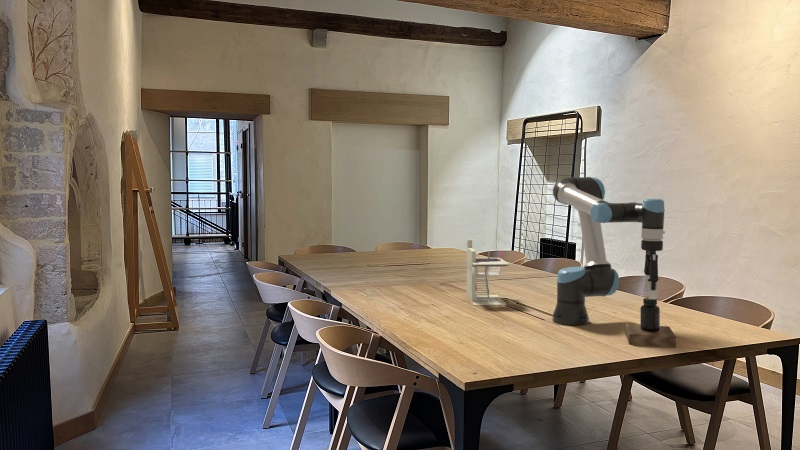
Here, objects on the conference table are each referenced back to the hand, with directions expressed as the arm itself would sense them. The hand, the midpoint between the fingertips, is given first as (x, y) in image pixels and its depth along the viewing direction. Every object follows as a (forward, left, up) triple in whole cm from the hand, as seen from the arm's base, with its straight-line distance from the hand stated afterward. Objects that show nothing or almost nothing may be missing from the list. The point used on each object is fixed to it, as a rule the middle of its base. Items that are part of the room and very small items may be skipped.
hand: (650, 295), depth 224 cm
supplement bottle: (0, 0, -14) cm, 14 cm away
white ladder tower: (-70, +62, -18) cm, 95 cm away
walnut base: (0, 0, -17) cm, 17 cm away
